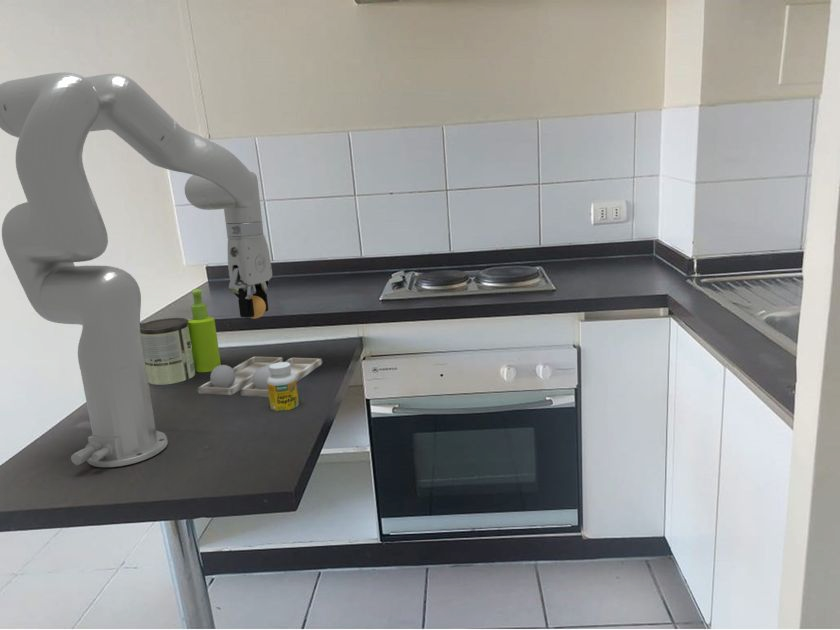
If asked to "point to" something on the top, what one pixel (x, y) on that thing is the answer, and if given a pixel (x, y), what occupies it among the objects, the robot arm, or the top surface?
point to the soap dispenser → (203, 336)
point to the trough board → (249, 367)
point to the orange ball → (258, 306)
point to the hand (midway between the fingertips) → (254, 313)
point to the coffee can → (167, 351)
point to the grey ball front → (261, 377)
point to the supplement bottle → (282, 387)
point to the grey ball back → (222, 376)
